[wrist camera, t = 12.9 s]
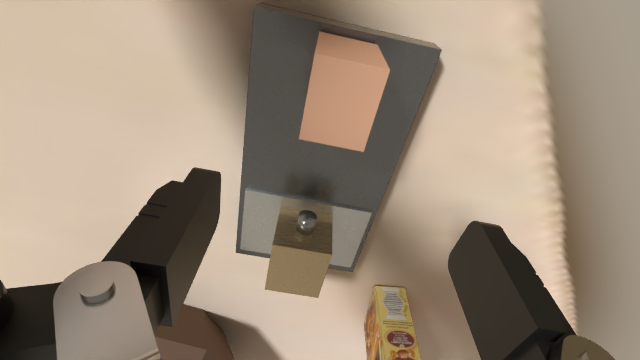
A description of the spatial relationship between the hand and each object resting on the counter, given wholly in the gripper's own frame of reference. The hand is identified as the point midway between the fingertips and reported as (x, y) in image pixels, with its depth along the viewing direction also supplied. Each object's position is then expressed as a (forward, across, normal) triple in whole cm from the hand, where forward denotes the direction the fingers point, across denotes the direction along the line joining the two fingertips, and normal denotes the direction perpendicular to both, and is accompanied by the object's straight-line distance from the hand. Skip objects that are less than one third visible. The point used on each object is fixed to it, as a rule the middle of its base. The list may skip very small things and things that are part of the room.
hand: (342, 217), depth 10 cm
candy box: (+18, -13, +29) cm, 37 cm away
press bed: (+18, 0, +9) cm, 20 cm away
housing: (+15, 0, +16) cm, 22 cm away
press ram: (+15, 0, 0) cm, 15 cm away
